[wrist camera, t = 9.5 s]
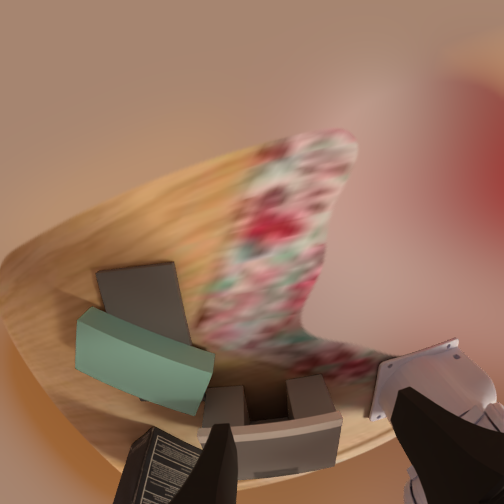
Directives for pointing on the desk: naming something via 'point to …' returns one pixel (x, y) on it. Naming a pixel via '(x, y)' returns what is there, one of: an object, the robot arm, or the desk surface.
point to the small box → (155, 469)
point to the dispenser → (278, 429)
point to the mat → (146, 299)
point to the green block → (142, 361)
